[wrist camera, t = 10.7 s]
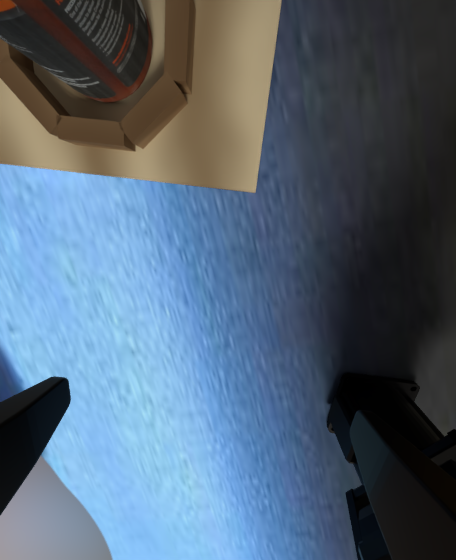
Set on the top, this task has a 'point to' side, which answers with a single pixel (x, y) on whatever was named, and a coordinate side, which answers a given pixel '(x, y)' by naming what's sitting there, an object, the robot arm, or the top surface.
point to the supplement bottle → (83, 42)
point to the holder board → (196, 131)
